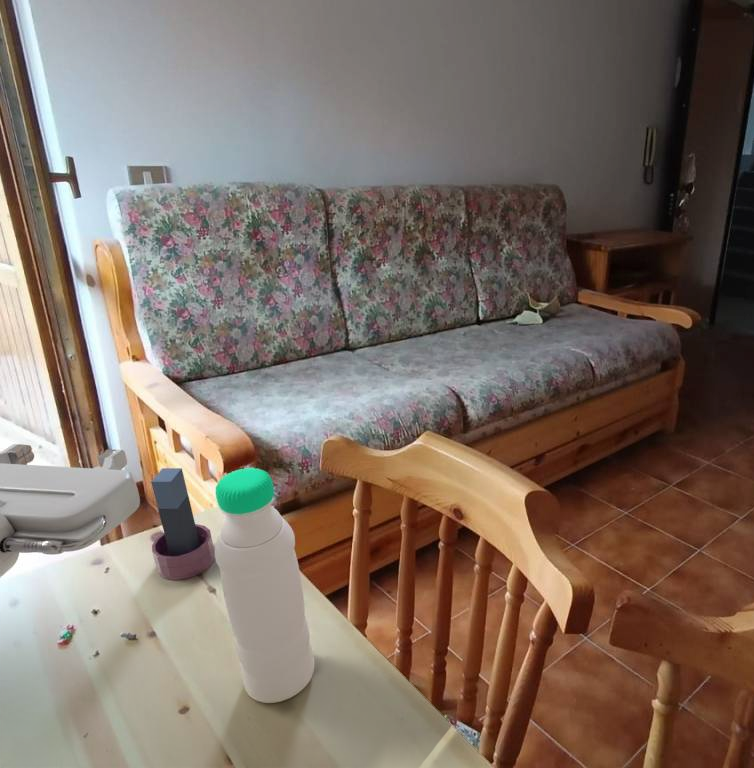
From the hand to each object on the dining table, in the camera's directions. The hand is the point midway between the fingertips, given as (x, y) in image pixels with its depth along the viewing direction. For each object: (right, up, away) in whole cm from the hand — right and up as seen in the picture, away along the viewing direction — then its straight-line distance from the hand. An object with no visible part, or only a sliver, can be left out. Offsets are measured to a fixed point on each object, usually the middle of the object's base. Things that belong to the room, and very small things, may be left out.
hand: (72, 453), depth 61 cm
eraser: (+1, -16, +21) cm, 26 cm away
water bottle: (+18, -25, +5) cm, 31 cm away
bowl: (0, -17, +21) cm, 27 cm away
